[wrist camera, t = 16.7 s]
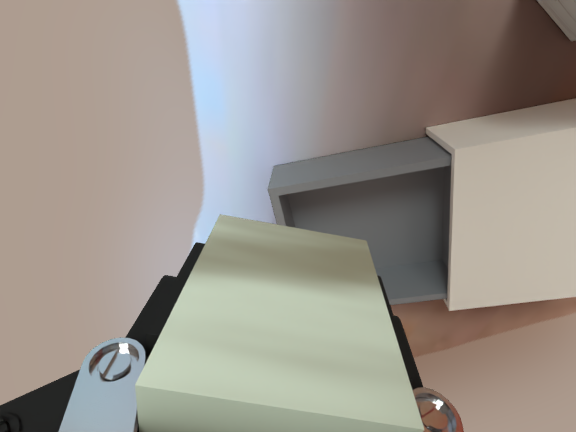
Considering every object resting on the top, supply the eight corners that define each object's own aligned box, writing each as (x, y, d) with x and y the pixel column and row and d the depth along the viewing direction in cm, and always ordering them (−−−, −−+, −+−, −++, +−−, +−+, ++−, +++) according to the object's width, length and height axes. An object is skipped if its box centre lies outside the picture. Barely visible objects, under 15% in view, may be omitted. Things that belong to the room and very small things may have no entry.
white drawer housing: (425, 127, 31) (454, 149, 25) (610, 91, 29) (693, 106, 23) (426, 268, 40) (449, 310, 33) (570, 249, 37) (623, 291, 31)
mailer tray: (268, 167, 34) (249, 230, 23) (451, 132, 31) (531, 184, 20) (297, 280, 41) (294, 370, 30) (447, 261, 39) (504, 351, 28)
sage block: (220, 214, 11) (135, 385, 5) (366, 240, 11) (424, 430, 6) (210, 319, 13) (146, 510, 8) (331, 339, 13) (347, 537, 8)
